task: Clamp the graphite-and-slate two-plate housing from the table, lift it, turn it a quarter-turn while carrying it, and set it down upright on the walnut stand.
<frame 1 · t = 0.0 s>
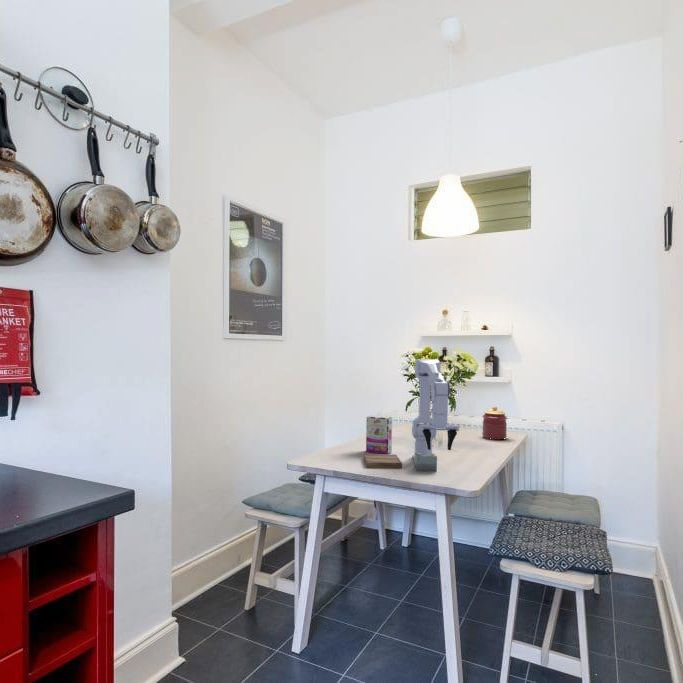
hand: (439, 449, 184), 10 cm above the table, fingers open, 7 cm apart
housing: (425, 470, 194), on the table
stand: (382, 463, 203), on the table
candy bar box: (378, 452, 225), on the table
canister: (494, 438, 270), on the table
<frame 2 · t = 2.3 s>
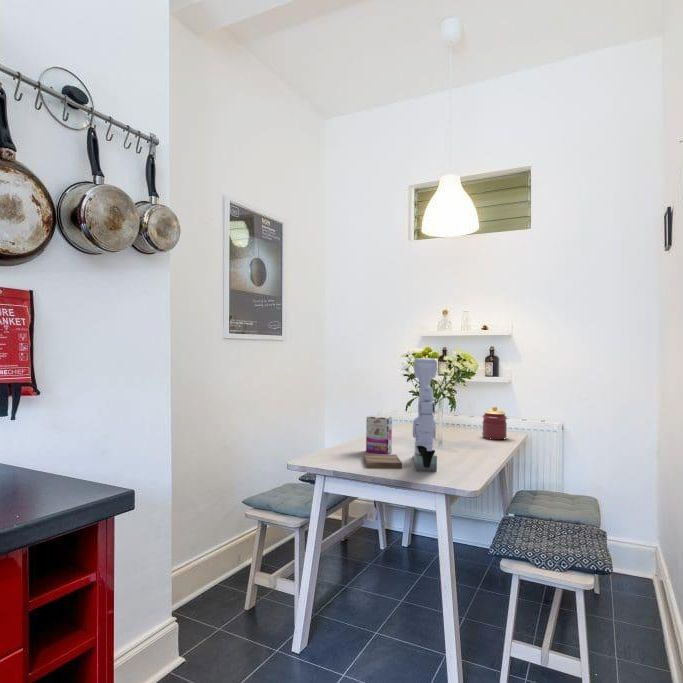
hand: (425, 465, 194), 2 cm above the table, fingers closed on housing, 5 cm apart
housing: (425, 469, 194), on the table, touching gripper
everything else where it was.
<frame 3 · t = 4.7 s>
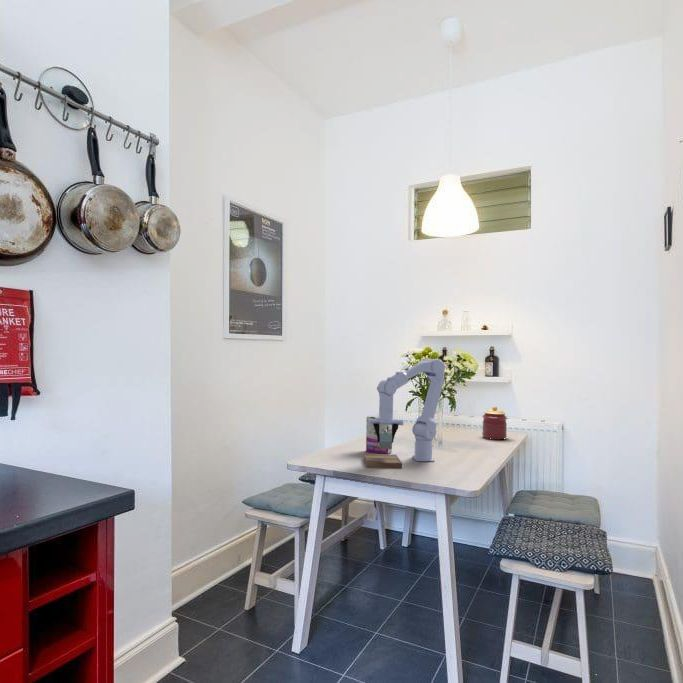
hand: (385, 442, 203), 9 cm above the table, fingers closed on housing, 5 cm apart
housing: (385, 447, 203), point 7 cm above the table, touching gripper
everything else where it was.
when the fingers open (5 cm above the table, at t = 6.3 s): housing stays where it is, resting on stand.
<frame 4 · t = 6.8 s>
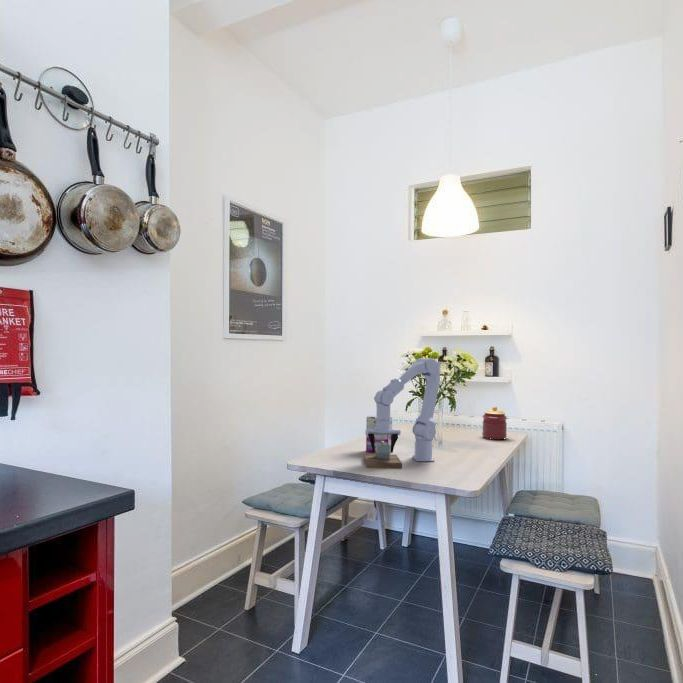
hand: (382, 452, 203), 5 cm above the table, fingers open, 7 cm apart
housing: (382, 458, 204), point 2 cm above the table, touching stand
everything else where it was.
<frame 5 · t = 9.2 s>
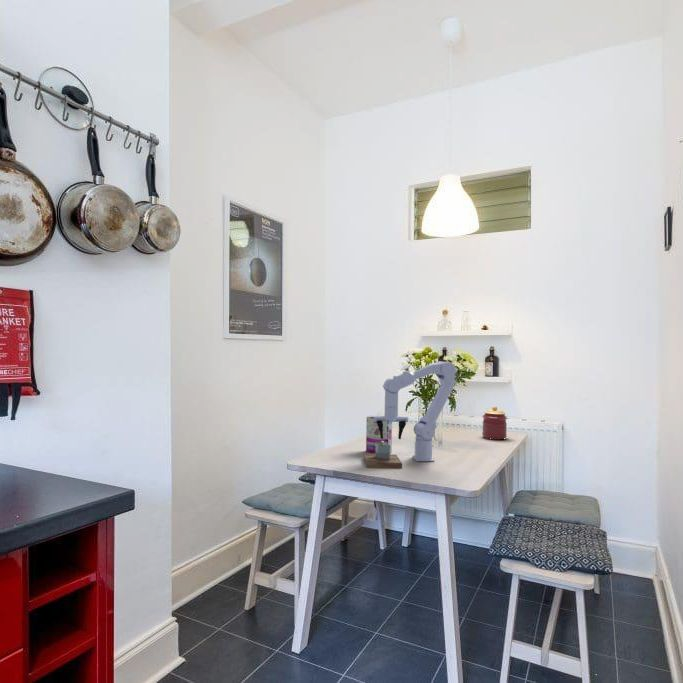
hand: (390, 438, 209), 9 cm above the table, fingers open, 7 cm apart
nothing on the table moved.
at the end: housing inside the target area on the stand (0.2 cm from its centre), point 2.0 cm above the stand's base; housing tilted 0°; the gripper is holding nothing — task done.
